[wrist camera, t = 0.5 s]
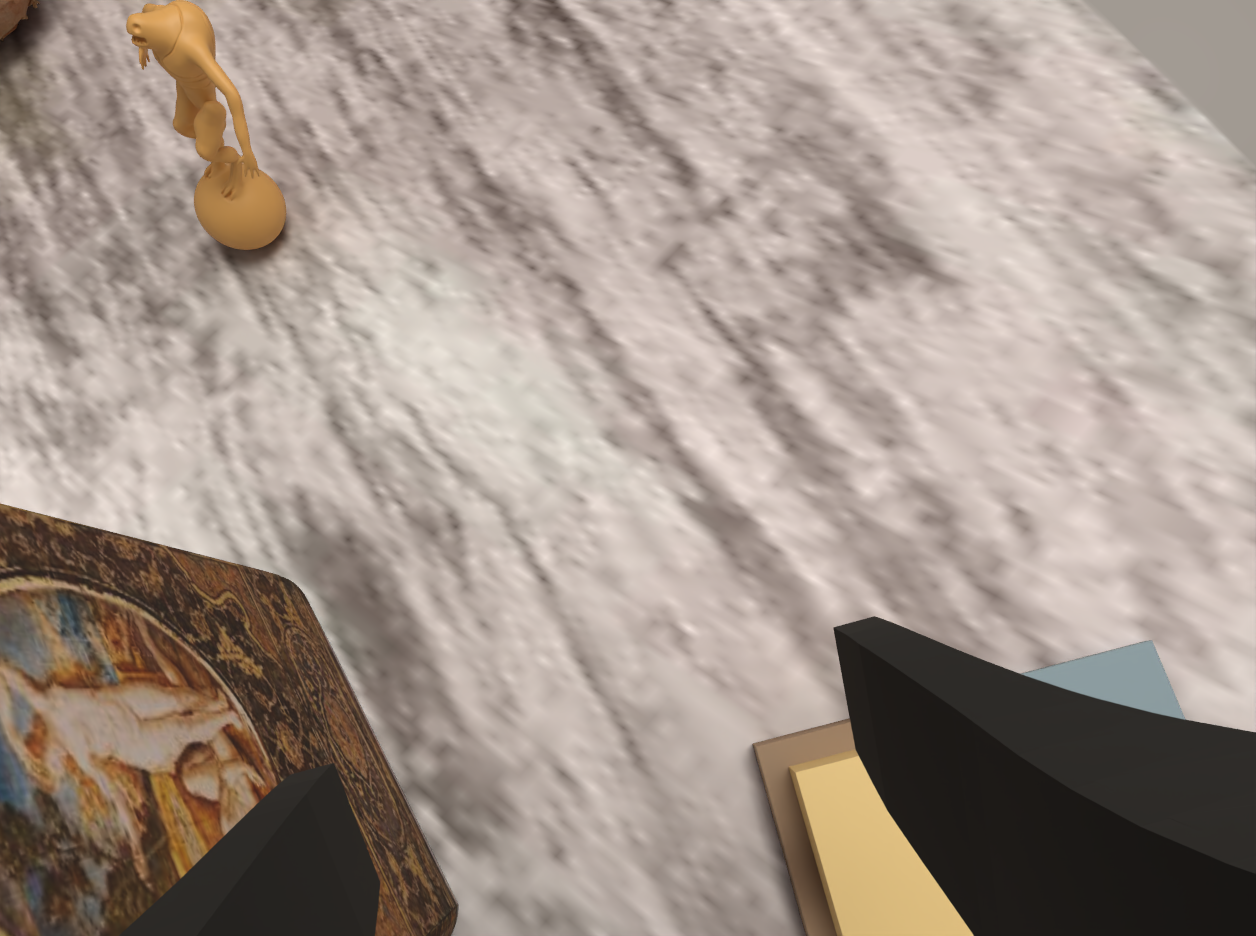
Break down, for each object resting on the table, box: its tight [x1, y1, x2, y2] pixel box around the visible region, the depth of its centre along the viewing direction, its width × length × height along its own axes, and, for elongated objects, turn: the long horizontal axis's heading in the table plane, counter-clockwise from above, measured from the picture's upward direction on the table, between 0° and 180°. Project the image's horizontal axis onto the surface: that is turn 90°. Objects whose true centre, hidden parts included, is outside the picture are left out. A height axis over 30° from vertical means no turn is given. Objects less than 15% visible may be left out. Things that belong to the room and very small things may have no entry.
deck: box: [753, 718, 855, 936], centre depth 30 cm, size 11×8×2 cm
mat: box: [1022, 640, 1185, 720], centre depth 31 cm, size 11×8×1 cm
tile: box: [789, 750, 974, 936], centre depth 29 cm, size 7×6×2 cm
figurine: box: [126, 0, 286, 250], centre depth 35 cm, size 8×6×12 cm
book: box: [0, 504, 458, 936], centre depth 21 cm, size 16×6×25 cm, turn 32°
